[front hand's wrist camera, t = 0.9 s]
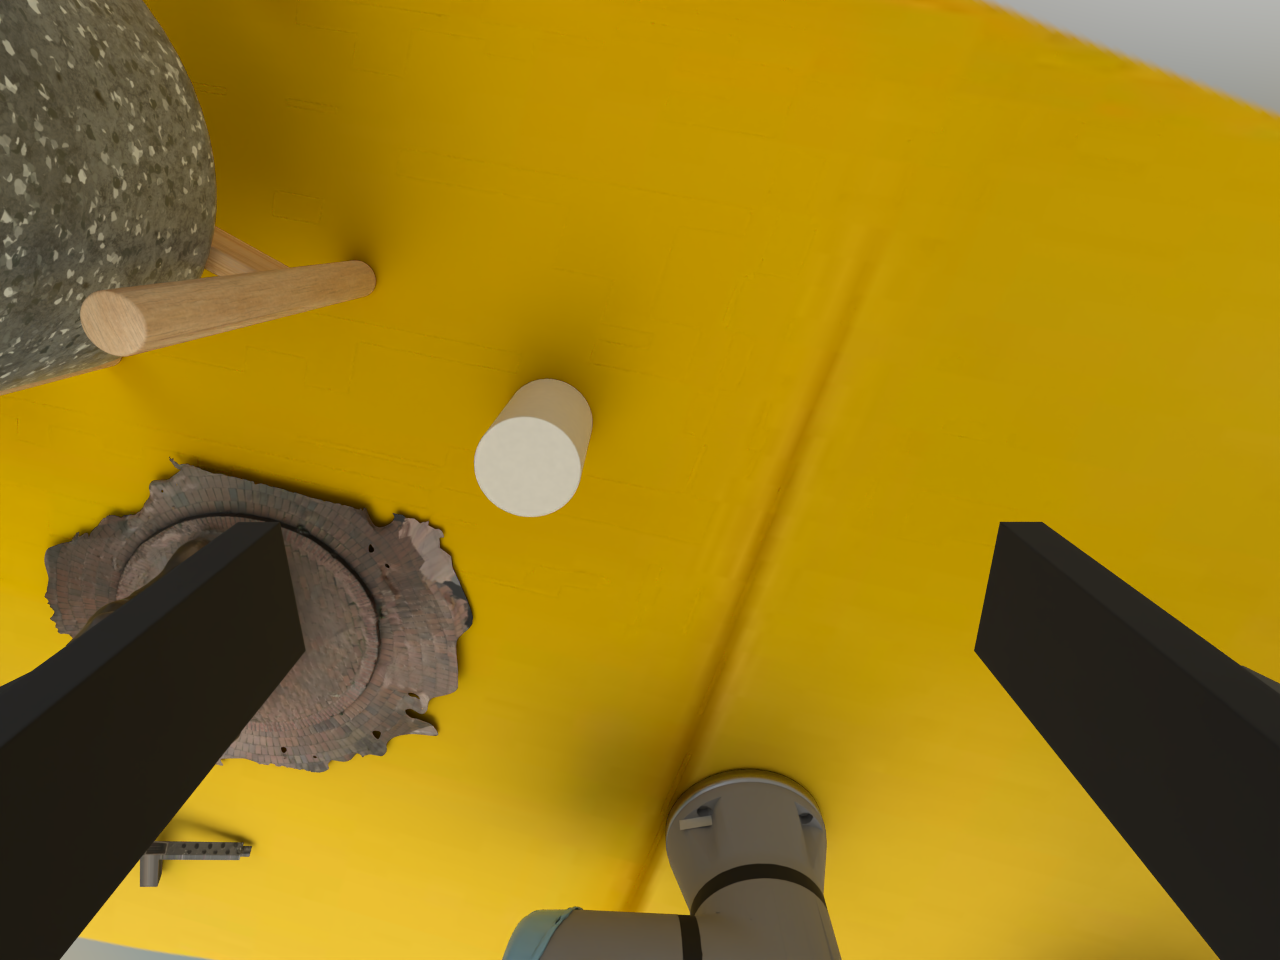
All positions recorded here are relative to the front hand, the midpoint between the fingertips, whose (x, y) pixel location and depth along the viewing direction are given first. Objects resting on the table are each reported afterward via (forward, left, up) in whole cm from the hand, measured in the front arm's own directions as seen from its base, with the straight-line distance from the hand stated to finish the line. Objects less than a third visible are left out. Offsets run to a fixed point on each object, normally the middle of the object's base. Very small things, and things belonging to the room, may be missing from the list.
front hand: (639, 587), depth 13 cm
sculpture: (-28, +30, -39) cm, 56 cm away
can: (-8, +6, -39) cm, 40 cm away
